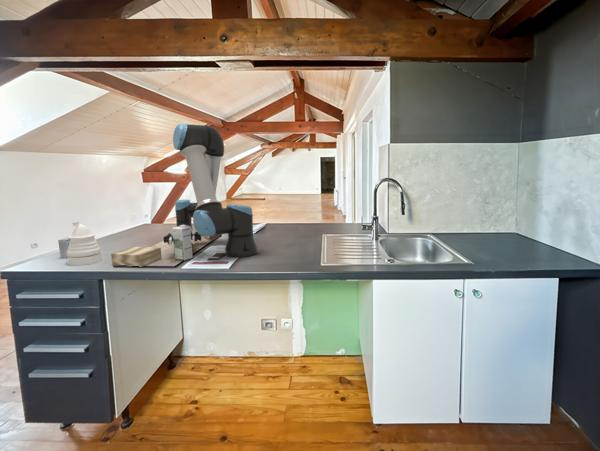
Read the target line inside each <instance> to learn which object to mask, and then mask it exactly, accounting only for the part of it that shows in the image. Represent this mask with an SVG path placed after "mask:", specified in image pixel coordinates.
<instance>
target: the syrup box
mask: <svg viewBox="0 0 600 451" xmlns="http://www.w3.org/2000/svg"><path fill="white" fill-rule="evenodd" d="M171 230H172V235H173V242H172V244H173V252H174V254H173V255H174V256H173V257H174V260H177V261H186V260H189V259H192V258H193V249H192V247H193V246H192V245H193V243H192V240H191V229H190V227H186V226H178V227H177V226H174V227H172V229H171Z"/></svg>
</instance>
